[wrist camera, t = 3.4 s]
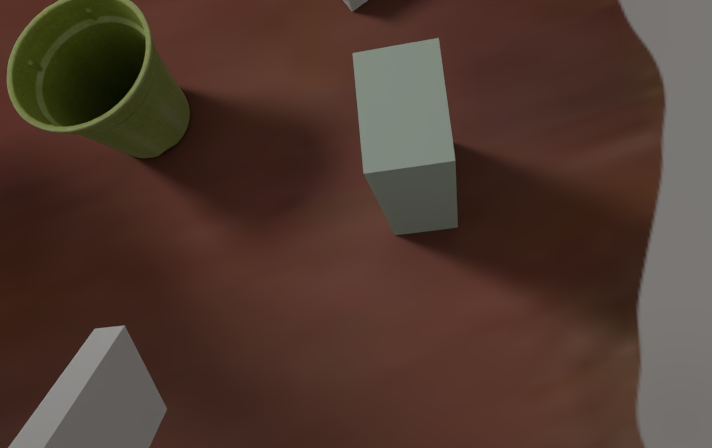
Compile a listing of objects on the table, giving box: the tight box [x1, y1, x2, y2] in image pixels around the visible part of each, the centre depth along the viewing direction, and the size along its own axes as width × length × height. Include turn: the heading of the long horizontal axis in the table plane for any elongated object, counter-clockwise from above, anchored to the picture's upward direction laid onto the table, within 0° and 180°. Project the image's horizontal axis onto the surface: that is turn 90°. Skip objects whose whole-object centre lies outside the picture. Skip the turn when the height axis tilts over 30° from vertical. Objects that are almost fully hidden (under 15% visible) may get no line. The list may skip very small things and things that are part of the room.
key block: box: [353, 38, 458, 235], centre depth 31 cm, size 4×6×12 cm, turn 5°
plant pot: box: [7, 0, 190, 158], centre depth 37 cm, size 9×9×9 cm
